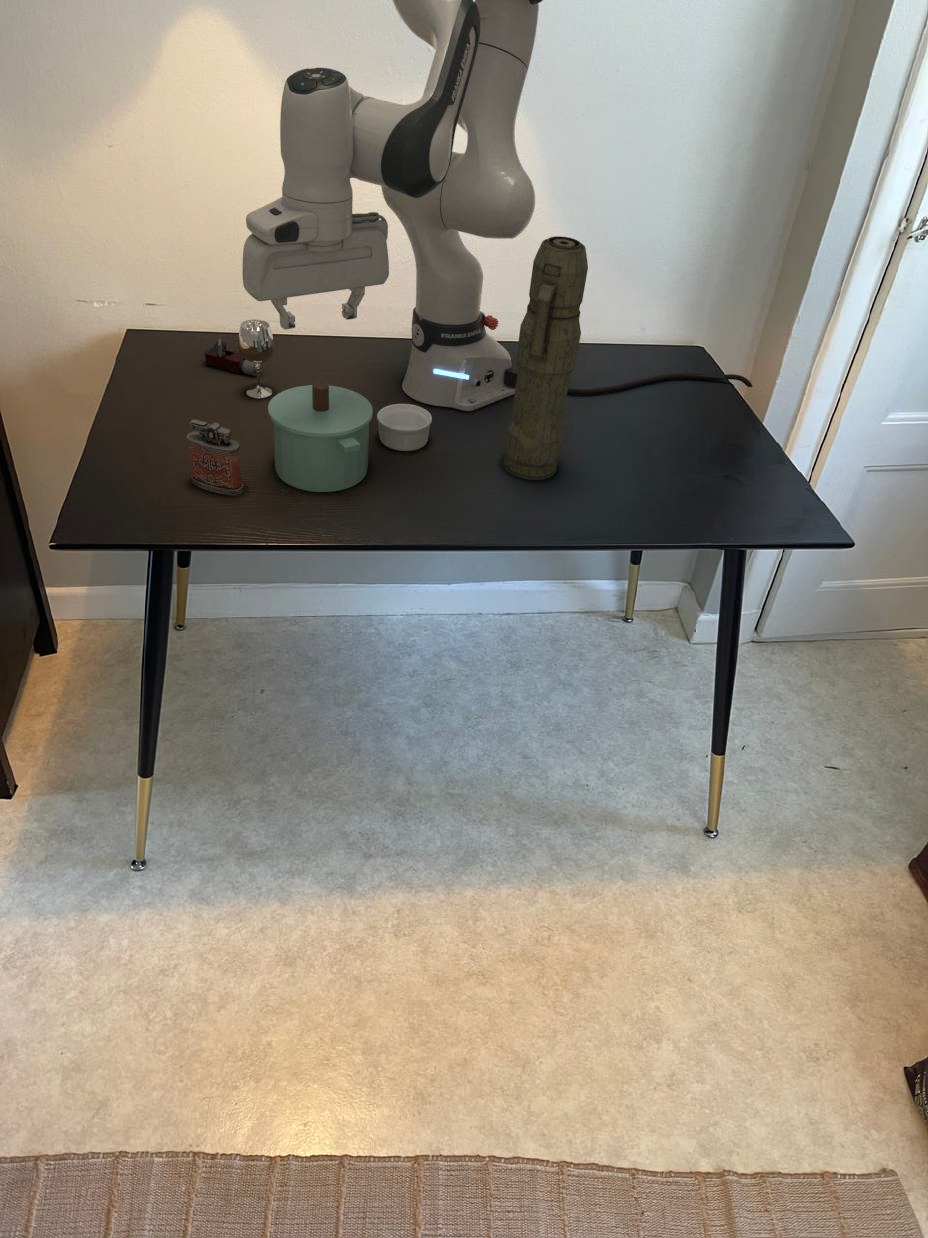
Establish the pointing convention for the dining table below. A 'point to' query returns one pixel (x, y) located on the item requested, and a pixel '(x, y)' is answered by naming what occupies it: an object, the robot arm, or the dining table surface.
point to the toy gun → (228, 359)
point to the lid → (320, 410)
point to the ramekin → (404, 426)
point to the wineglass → (256, 350)
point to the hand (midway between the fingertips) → (319, 322)
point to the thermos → (546, 358)
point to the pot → (321, 459)
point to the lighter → (214, 458)
